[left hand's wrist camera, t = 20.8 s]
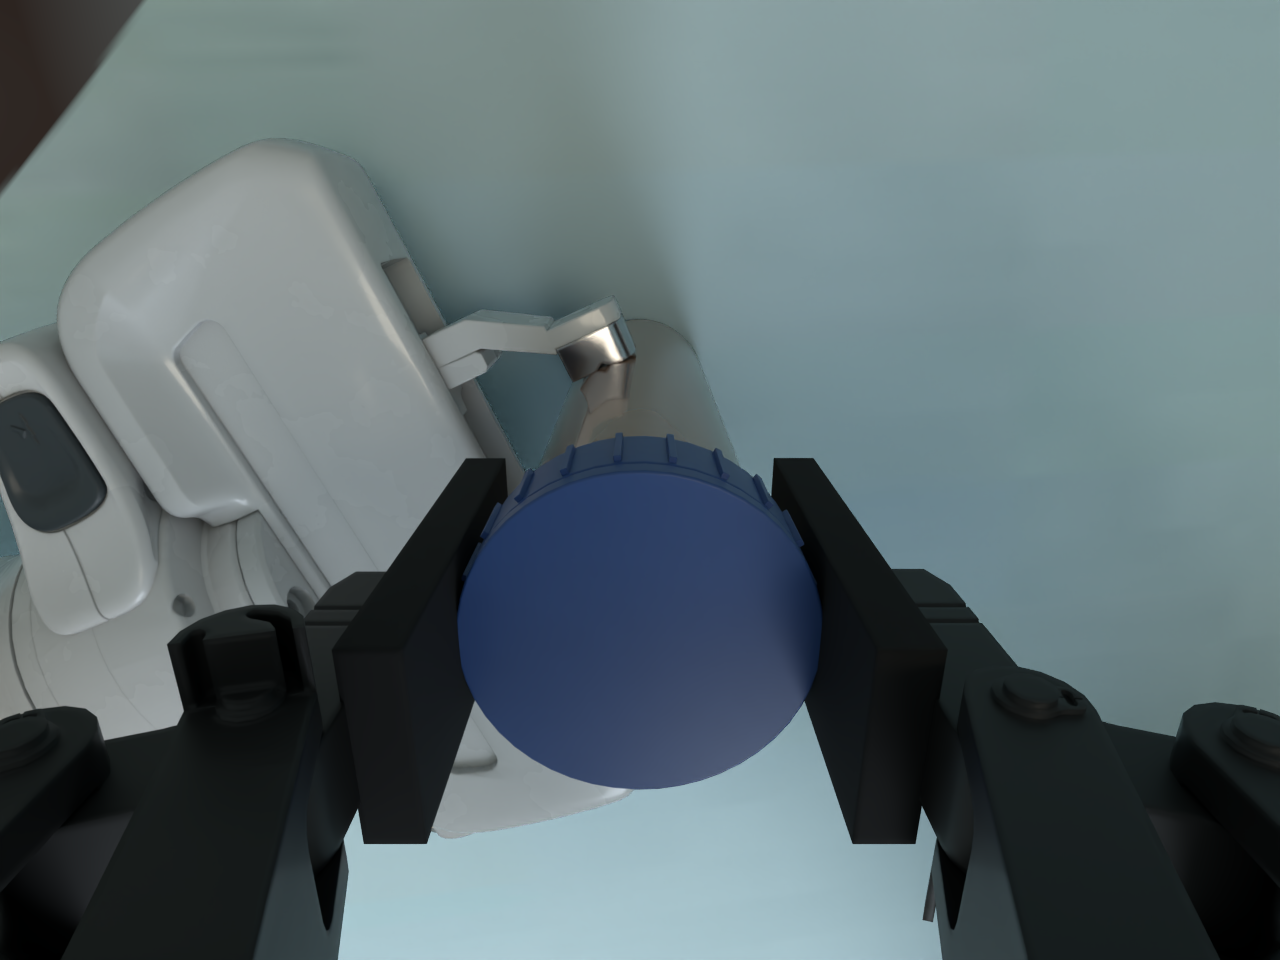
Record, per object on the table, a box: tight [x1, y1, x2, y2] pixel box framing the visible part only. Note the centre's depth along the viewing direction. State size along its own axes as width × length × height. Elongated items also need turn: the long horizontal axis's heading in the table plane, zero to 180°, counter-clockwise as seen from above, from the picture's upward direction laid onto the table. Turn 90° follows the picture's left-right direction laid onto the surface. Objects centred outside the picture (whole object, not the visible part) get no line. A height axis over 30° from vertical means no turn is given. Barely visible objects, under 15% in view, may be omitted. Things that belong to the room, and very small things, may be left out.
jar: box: [539, 319, 741, 468], centre depth 19 cm, size 4×4×16 cm
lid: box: [457, 432, 822, 789], centre depth 11 cm, size 5×5×2 cm
